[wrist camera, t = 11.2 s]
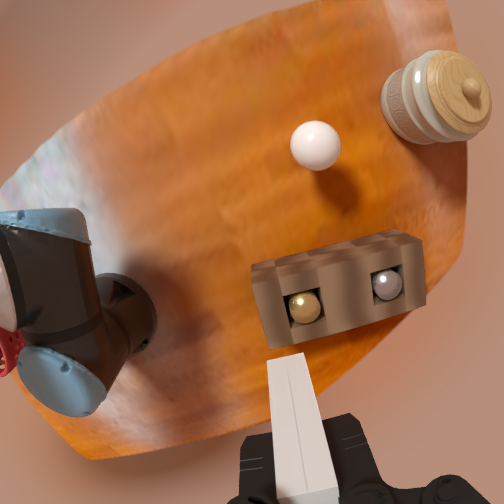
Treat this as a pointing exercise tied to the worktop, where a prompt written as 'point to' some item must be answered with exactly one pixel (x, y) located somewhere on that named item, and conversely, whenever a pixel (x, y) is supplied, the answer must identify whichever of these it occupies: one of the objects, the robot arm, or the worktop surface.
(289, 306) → the brass peg
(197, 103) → the worktop surface
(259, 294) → the socket block
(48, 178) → the worktop surface
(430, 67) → the jar
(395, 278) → the steel peg
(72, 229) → the robot arm
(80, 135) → the worktop surface
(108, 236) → the worktop surface
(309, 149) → the lightbulb
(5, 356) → the plant pot
